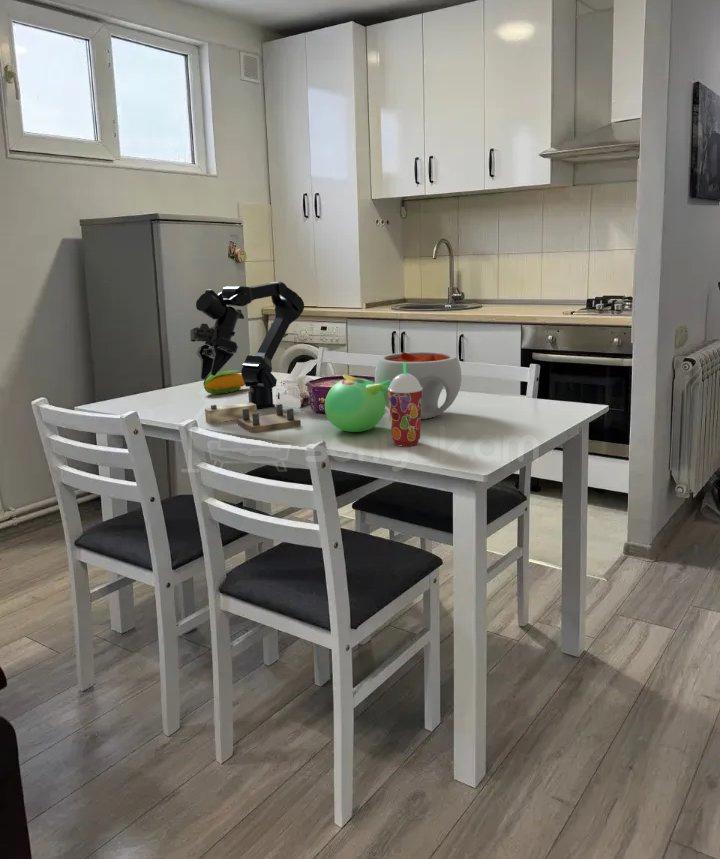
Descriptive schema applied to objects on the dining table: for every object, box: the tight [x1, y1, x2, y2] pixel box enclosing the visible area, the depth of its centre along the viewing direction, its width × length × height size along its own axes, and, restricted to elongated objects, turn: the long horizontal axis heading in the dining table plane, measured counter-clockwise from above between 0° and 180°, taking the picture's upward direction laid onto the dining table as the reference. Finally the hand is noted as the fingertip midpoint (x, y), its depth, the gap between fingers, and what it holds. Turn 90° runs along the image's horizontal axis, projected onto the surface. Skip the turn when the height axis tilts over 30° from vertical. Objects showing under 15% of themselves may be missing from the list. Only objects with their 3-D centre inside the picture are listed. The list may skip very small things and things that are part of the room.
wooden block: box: [204, 402, 258, 425], centre depth 219 cm, size 14×4×5 cm, turn 118°
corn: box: [203, 369, 245, 395], centre depth 262 cm, size 7×8×20 cm
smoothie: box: [388, 362, 423, 447], centre depth 183 cm, size 8×8×20 cm
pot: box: [374, 351, 463, 420], centre depth 213 cm, size 24×24×18 cm
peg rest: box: [236, 403, 302, 433], centre depth 210 cm, size 14×12×4 cm
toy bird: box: [324, 374, 391, 433], centre depth 199 cm, size 18×17×15 cm
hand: (207, 377), depth 216 cm, fingers open, 9 cm apart
